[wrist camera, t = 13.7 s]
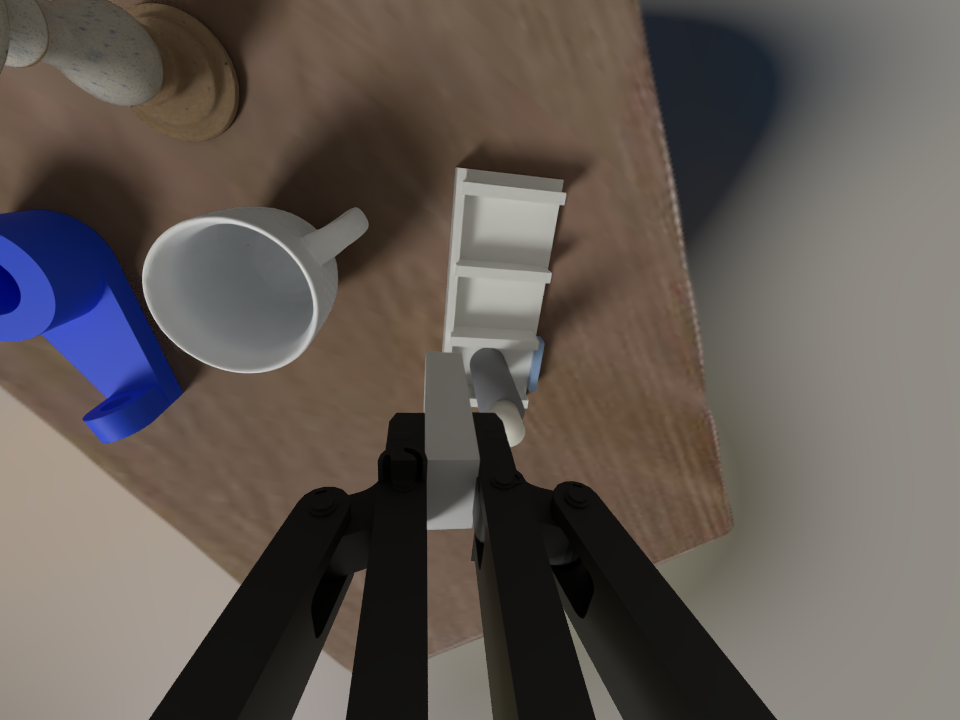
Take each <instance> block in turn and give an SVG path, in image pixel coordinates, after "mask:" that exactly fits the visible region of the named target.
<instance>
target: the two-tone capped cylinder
mask: <svg viewBox="0 0 960 720" xmlns="http://www.w3.org/2000/svg"><path fill="white" fill-rule="evenodd" d="M470 371H471V376H472V380H473V385H474V390H475V395H476V400H477V404H478V409H479V413H496V414H497V415H498V417H499V418H500V419H501V420H502V421H503V424H504V427H505V433H506V434H507V438H508V442H509V445H510V447H512V446H515V445H517V444H519V443H520V442H521V441H522V440H523V438H524V436H525V428H524V425H523V422H522V419H523V417H524V412H525V410H524V405H523V403H522V400H521V398H520V395H519V393H518V390H517V388H516V385H515V383H514V380H513V378H512V375H511V373H510V370H509V368H508V365H507V363H506V361H505V358H504V356H503V354H502V353H501V352H500V351H499V350H497V349H495V348H482V349H480V350H478V351H477V352H475V353H474V354H473V356H472V357H471V359H470Z"/></svg>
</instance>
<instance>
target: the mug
mask: <svg viewBox="0 0 960 720" xmlns="http://www.w3.org/2000/svg"><path fill="white" fill-rule="evenodd" d="M368 226H369V224H368V220H367V218H366V216H365V214H364V213H363V212H362V211H361V210H360V209H359V208H356V207H354V208H351V209H350V210H348V211H346V212H345V213H344V214H342V215H341V216H339V217H338V218H337V219H335V220H334V221H332V222H331V223H329V224H328V225H326V226H324V227H323V228H321V229H318V230H317V229H315V228H314V227H313V226H312V225H311V224H310V223H308V222H306V221H305V220H304V219H301V218H300V217H298V216H296V215H294V214H292V213H288V212H286V211H284V210H278V209H276V208H268V207H257V206H250V207H247V206H243V207H237V208H230V209H223V210H220V211H216V212H211V213H209V214H204V215H201V216H198V217H194V218H191V219H188V220H184V221H182V222H180V223H178V224H176V225H174V226H172V227H170V228H169V229H168V230H166V231H165V232H164V233H163V234H162V235H161V236H160V237H158V239H157V240H156V241H155V243H154V244H153V245H152V247H151V248H150V250H149V252H148V254H147V257H146V259H145V263H144V267H143V274H142V285H143V292H144V296H145V300H146V303H147V305H148V308H149V310H150V312H151V314H152V316H153V318H154V319H155V321H156V323H157V324H158V325H159V327H160V328H161V330H162V331H163V332H164V333H165V334H166V335H167V336H168V338H169V339H170V340H172V341H173V342H174V343H175V344H176V345H177V346H178V347H179V348H181V349H182V350H183V351H185V352H186V353H188V354H189V355H191V356H193V357H194V358H196V359H198V360H200V361H201V362H203V363H206V364H208V365H210V366H213V367H216V368H219V369H222V370H226V371H231V372H238V373H260V372H266V371H270V370H274V369H277V368H280V367H282V366H285V365H287V364H288V363H290V362H292V361H293V360H295V359H296V358H297V357H299V356H300V355H301V354H302V353H303V352H304V351H305V350H306V349H307V347H308V346H309V345H310V343H311V342H312V340H313V339H314V338H315V337H316V335H317V333H318V331H319V330H320V329H321V328H322V325H323V324H324V322H325V321H326V319H327V316H328V315H329V314H330V310H331V309H332V307H333V304H334V301H335V299H336V292H337V289H338V287H337V285H338V270H337V264H336V260H335V256H336V255H338V254H339V253H340V252H341V251H342V250H344V249H345V248H346V247H347V246H349V245H350V244H352V243H353V242H354V241H356V240H357V239H358V238H359V237H361V236H362V235H363V234H364V233H365V232H366V231H367V229H368Z"/></svg>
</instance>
